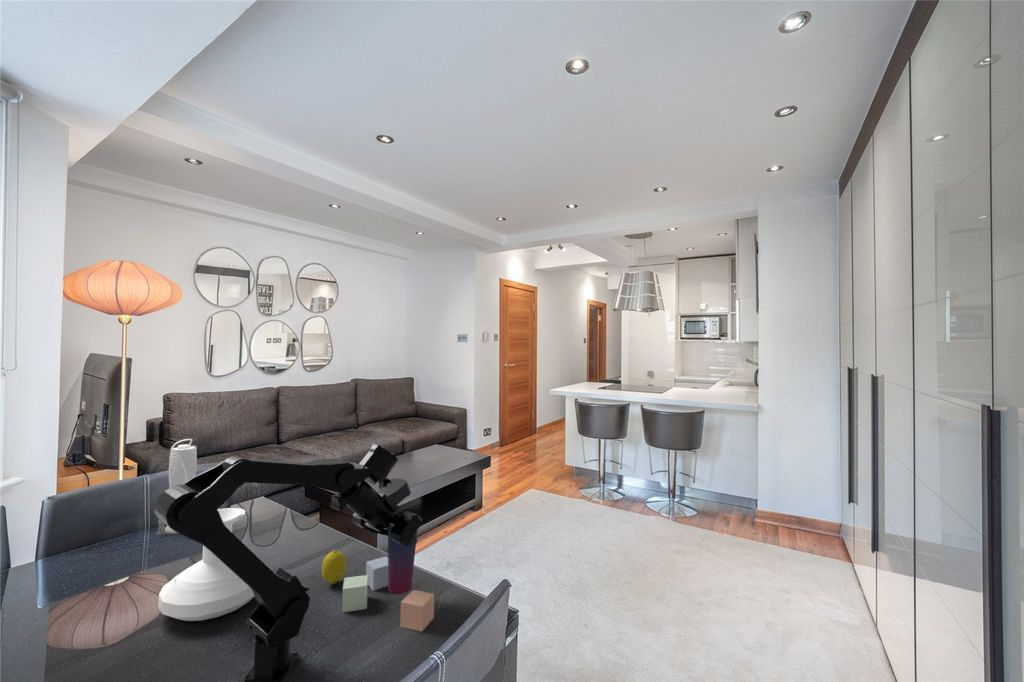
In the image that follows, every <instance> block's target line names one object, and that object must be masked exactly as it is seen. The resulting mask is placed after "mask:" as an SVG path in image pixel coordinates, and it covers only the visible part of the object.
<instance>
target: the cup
mask: <svg viewBox="0 0 1024 682" xmlns="http://www.w3.org/2000/svg"><path fill="white" fill-rule="evenodd" d="M399 515H400V516H401V514H399ZM392 528H393V526H392V525H390V526H389V528H388V536H387V558H388V586H387V587H388V588H387V589H388V592H389V593H391V594H395V595H400V594H405V593H408V592H409V591H411V589H412V583H413V575H414V567H415V565H414V564H415V556H416V546H417V544H416V545H407V546H402V545H400V544H398V543H395V542H393V541H392V539H391V538H390V531H391V529H392ZM415 536H416V538H417V539H418V537H417V536H418V531H417V532H416V533H415Z"/></svg>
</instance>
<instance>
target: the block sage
mask: <svg viewBox="0 0 1024 682" xmlns="http://www.w3.org/2000/svg"><path fill="white" fill-rule="evenodd" d="M368 589H369V586H368V575H366V574H365V575H357V576H356V575H355V576H350V577H349V576H348V577H344V579H343V584H342V602H341V603H342V605H341V606H342V607H341V608H342V613H348V612H354V611H355V612H356V611H361V610H366V609H367V608H368Z"/></svg>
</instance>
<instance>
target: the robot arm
mask: <svg viewBox="0 0 1024 682" xmlns="http://www.w3.org/2000/svg"><path fill="white" fill-rule="evenodd" d="M398 462H399V458H398V457H397V455H395V454H394V453H392V452H391V451H389V450H388V449H386V448H383V447H382V446H381V445H380V444H376V443H373V444H372V445H371V447H370V448H369V450H368V452H367V453H365V456H364V457H363V458H362V459H361V461H359V464H358V463H356V462H347V461H344V460H340V459H339V460H338V459H336V458H325V459H316V460H313V461H307V462H300V461H287V460H286V461H285V460H272V459H258V458H247V457H246V458H245V457H242V456H239V455H233V456H232V455H231V456H229V457H227V458H226V459H224V460H222V461H221V462H220V463H219V464H216V465H215V466H213V467H211V468H209V469H207V470H205V471H203V472H201V473H199V474H196V476H195V477H193V478H191V479H190V480H188V481H187V482H185V483H184V484H182V485H177V486H174V487H171V488H170V487H169V488H167V489H165V490H164V491H163V492H162V493H161V494H160V495H159V496H158V498H157V499H156V501H155V505H154V509H153V511H154V514H155V516H156V517H157V518H158V520H159V519H160V520H161V521H162V522H164V523H165V526H166V527H167V526H169V527H170V528H171V529H173V530H174V531H176V532H178V534H179V535H182V536H183V537H185V538H187V539H190V540H191V541H193V542H195V543H198V544H200V545H202V547H203V546H204V547H205V548H206V549H208V550H209V551H210V552H211V553H212V554H213V555H214V556H215V557H217V558H218V559H219V560H220V561H221V562H222V563H223V564H224V565H225V566H227V567H228V568H229V569H230V570H231V571H232V572H233V573H234V574H236V575H237V576H238V577H239V578H240V579H241V580H242V581H243V582H244V583H246V584H247V585H248V586H249V587H250V588H251V589H252V591H253V593H254V598H255V600H256V601H257V603H258V604H257V606H255V608H254V609H253V610H252V612H251V613H250V614H249V616H248V617H247V618H246V620H245V622H246V624H247V626H248V629H249V630H250V631H252V632H253V633H254V634H255V636H254V651H253V656H254V657H253V666H252V668H251V669H250V670H249V671H248V672H247V673H246V675H244V679H243V680H244V681H243V682H282V681H283V680H284V679H285V677H286V676H287V674H288V673H289V672H290V670H291V669H292V667H293V665H294V664H295V663H296V661H297V659H298V658H299V657H300V656H299V654H300V653H299V652H292V639H293V638H295V637H297V636H298V635H299V633H300V631H301V626H302V625H303V620H304V617H305V615H306V613H307V611H308V608H309V607H310V602H311V598H310V595H309V593H308V591H309V590H310V588H309V587H308V586H306V585H305V584H303V583H302V582H301V581H300V580H299V578H298V577H297V576H296V575H295V574H293V573H292V572H290V571H288V569H286V568H284V567H283V566H279V568H278V569H277V570H276V572H274V571H273V570H271V568H270V567H268V566H267V565H266V564H265V563H264V561H262V560H261V559H260V558H259V557H258V556H257V555H256V554H255V553H254V552H253V551H252V549H251V550H250V548H249V547H247V546H246V545H245V544H244V543H243V542H242V541H241V540H240V539H239V538H238V537H237V536H236V535H235V534H234V533H233V531H232V532H231V531H230V530H229V529H228V528H226V526H225V525H224V523H223V520H222V518H221V516H220V514H219V512H218V510H217V509H218V508H219V509H220V507H221V506H223V505H224V504H225V503H226V502H227V501H228V500H229V499H230V498H231V496H232V495H233V494H235V492H237V490H238V489H239V488H241V486H243V485H244V484H246V483H247V484H248V483H249V484H250V483H251V484H271V485H273V484H274V485H275V484H277V485H299V486H300V485H301V486H303V485H304V486H305V485H306V486H310V487H315V488H319V489H322V490H326V491H329V492H334V493H336V494H332V495H331V502H330V508H332V509H334V510H336V511H339V512H342V511H343V510H344V509H345V507H346V506H347V508H348V509H350V510H351V511H352V512H353V515H351V517H352V518H351V519H352V523H353V524H355V526H357V527H360V528H361V529H364V530H366V531H368V532H371V533H374V534H379V535H383V536H387V537H388V528H389V526H390V525H392V526H393V528H392V529H391V531H390V538H391V539H392V541H393V542H395V543H398V544H400V545H402V546H407V545H416V546H417V543H418V537H417V538H416V536H415V533H416V532H417V533H418V530H419V528H420V527H421V525H422V524H423V518H422V517H421V516H420V515H419V514H417V513H414V512H413V511H412V512H411V511H409V510H406V511H404V512H402V513H401V514H397V512H398V510H399V509H400V506H399V505H398V504H400V503H401V502H402V501H404V500H405V499H406V498H408V497H410V496H411V494H412V492H411V489H410V487H409V483H408V480H405V479H402V478H399V477H398V478H397V477H396V478H395V477H394V478H393V477H392V478H391V479H389V478H388V476H389V474H390V473H391V472H392V471H393V469H394V467H395V466H396V465H397V463H398ZM377 483H378V490H379V491H376V489H375V488H374V487H372V486H371V485H370V484H372V485H374V486H375V485H377ZM400 515H401V516H400Z"/></svg>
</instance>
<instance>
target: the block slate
mask: <svg viewBox="0 0 1024 682" xmlns="http://www.w3.org/2000/svg"><path fill="white" fill-rule="evenodd" d="M365 564H366V565H365V575H368V585H369V586H370V587H369V586H368V587H369V588H370V589H371V590H372V591H373V592H375V591H377V590H378V591H379V590H380V589H383V587H384V588H386V586H387V587H388V556H386V555H385V556H382V557H378V558H375V559H372V560H368V561H366V563H365Z"/></svg>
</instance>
